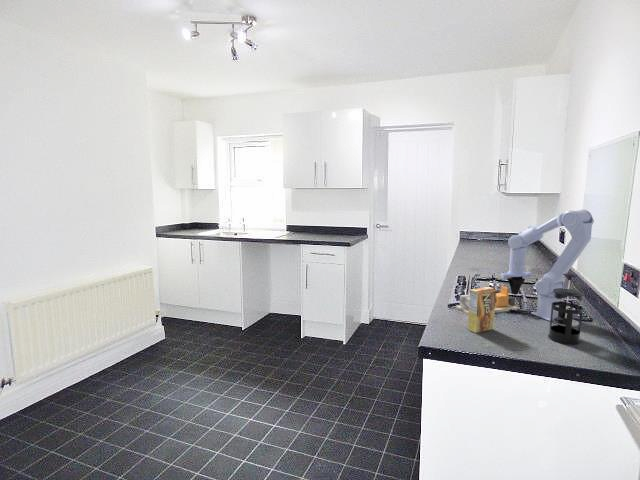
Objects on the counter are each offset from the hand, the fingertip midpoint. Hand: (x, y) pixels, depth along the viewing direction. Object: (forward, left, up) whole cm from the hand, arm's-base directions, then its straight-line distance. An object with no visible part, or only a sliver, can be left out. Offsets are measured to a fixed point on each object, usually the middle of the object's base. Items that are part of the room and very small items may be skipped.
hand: (514, 293), depth 172 cm
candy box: (-19, +31, -6) cm, 37 cm away
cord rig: (0, +13, -5) cm, 15 cm away
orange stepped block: (0, +7, -4) cm, 9 cm away
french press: (-34, +9, -6) cm, 36 cm away
